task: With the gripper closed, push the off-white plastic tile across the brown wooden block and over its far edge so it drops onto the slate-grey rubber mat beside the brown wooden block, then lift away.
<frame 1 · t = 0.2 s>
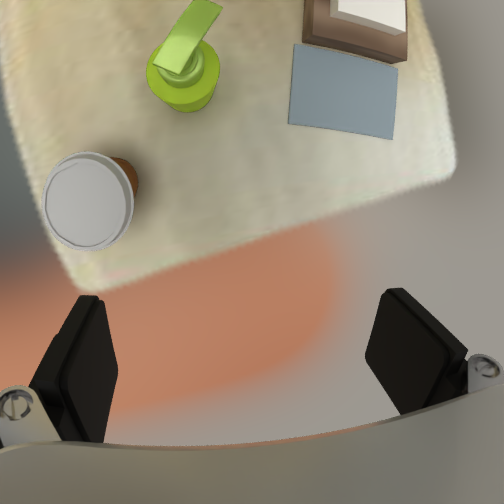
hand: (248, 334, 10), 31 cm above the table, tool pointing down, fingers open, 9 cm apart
mat: (347, 92, 37), on the table
soap dispenser: (190, 85, 34), on the table
tile: (364, 5, 29), point 4 cm above the table, touching brown wooden block
disposable coffee cup: (114, 182, 37), on the table
brown wooden block: (350, 8, 32), on the table
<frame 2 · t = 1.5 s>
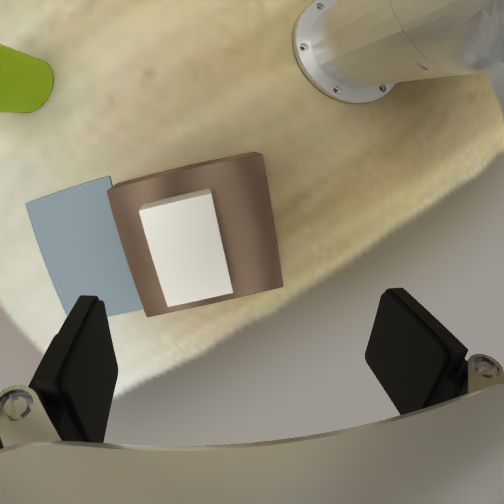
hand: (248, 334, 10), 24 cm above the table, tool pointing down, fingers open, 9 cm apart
mat: (85, 256, 32), on the table
soap dispenser: (35, 86, 24), on the table
tile: (187, 243, 29), point 4 cm above the table, touching brown wooden block
brown wooden block: (198, 228, 33), on the table
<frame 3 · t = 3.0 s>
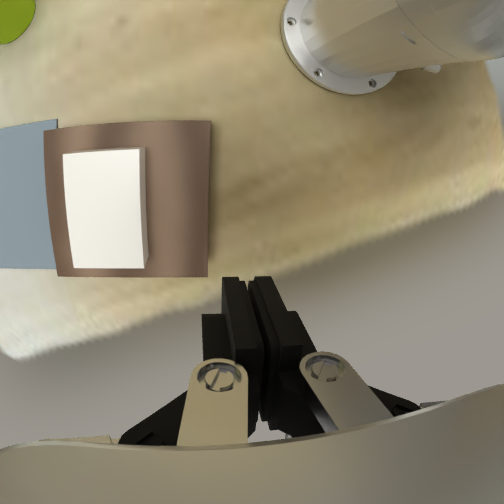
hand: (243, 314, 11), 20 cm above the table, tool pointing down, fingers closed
mat: (18, 199, 26), on the table
soap dispenser: (16, 19, 19), on the table
tile: (110, 204, 24), point 4 cm above the table, touching brown wooden block
brown wooden block: (132, 193, 28), on the table
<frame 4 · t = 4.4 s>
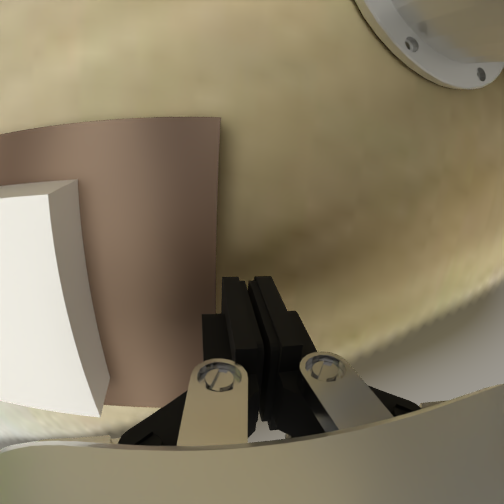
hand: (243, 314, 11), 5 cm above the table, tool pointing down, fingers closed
tile: (29, 291, 11), point 4 cm above the table, touching brown wooden block
brown wooden block: (77, 255, 15), on the table
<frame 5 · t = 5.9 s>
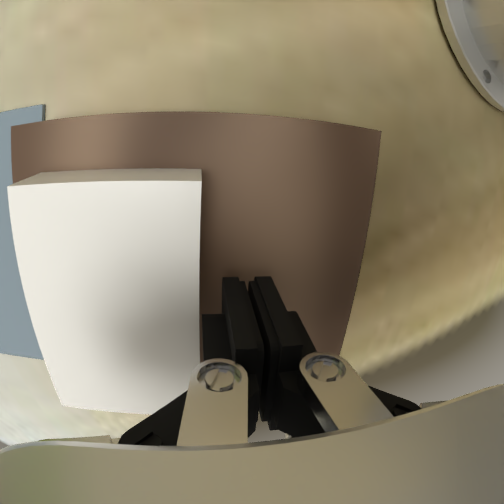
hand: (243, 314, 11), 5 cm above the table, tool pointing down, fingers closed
tile: (122, 286, 12), point 4 cm above the table
brown wooden block: (190, 250, 16), on the table
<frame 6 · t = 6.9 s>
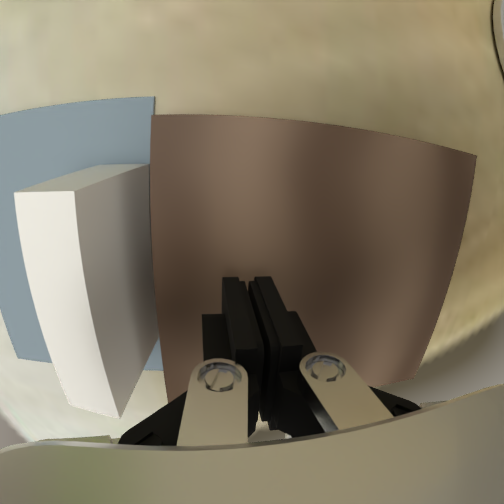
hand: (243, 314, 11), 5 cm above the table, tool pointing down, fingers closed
mat: (60, 252, 15), on the table
tile: (127, 288, 12), point 4 cm above the table, tilted 102°, touching mat
brown wooden block: (302, 252, 17), on the table
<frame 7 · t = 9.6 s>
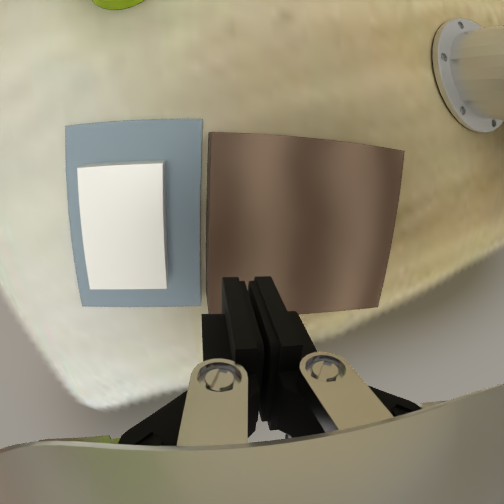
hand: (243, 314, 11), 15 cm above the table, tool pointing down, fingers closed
mat: (132, 218, 24), on the table
tile: (121, 230, 21), point 3 cm above the table, tilted 180°, touching mat
brown wooden block: (294, 218, 26), on the table
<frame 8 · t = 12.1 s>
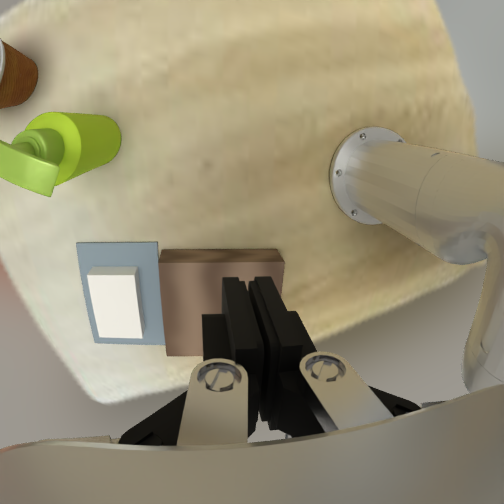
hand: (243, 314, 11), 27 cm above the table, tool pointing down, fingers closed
mat: (121, 296, 40), on the table
soap dispenser: (101, 142, 32), on the table
tile: (115, 308, 37), point 3 cm above the table, tilted 180°, touching mat
disposable coffee cup: (18, 81, 27), on the table
brown wooden block: (219, 296, 42), on the table
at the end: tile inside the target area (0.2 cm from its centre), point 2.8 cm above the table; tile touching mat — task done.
